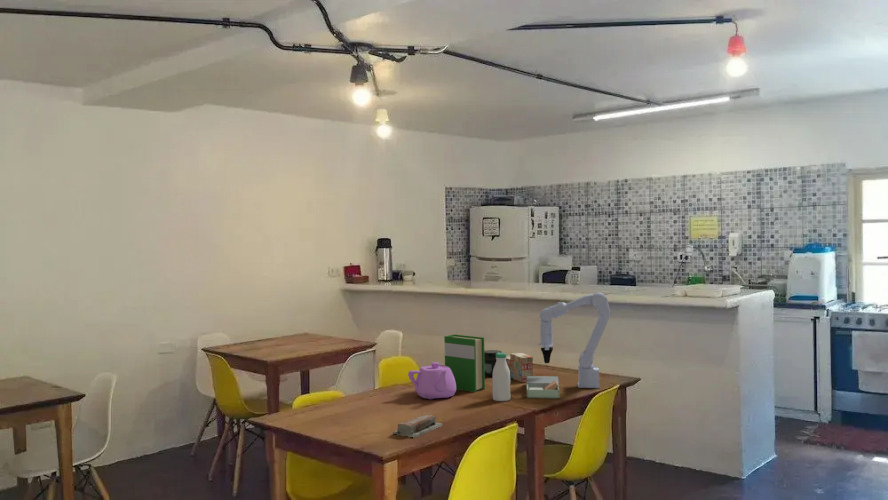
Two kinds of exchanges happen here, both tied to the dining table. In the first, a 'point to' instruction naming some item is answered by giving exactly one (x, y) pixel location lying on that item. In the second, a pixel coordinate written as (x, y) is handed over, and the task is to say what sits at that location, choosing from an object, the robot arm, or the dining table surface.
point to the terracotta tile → (551, 386)
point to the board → (540, 381)
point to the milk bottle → (501, 379)
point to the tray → (542, 393)
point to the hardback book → (466, 361)
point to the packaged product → (417, 426)
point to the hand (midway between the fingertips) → (546, 363)
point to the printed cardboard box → (520, 366)
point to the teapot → (434, 381)
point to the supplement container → (490, 361)
